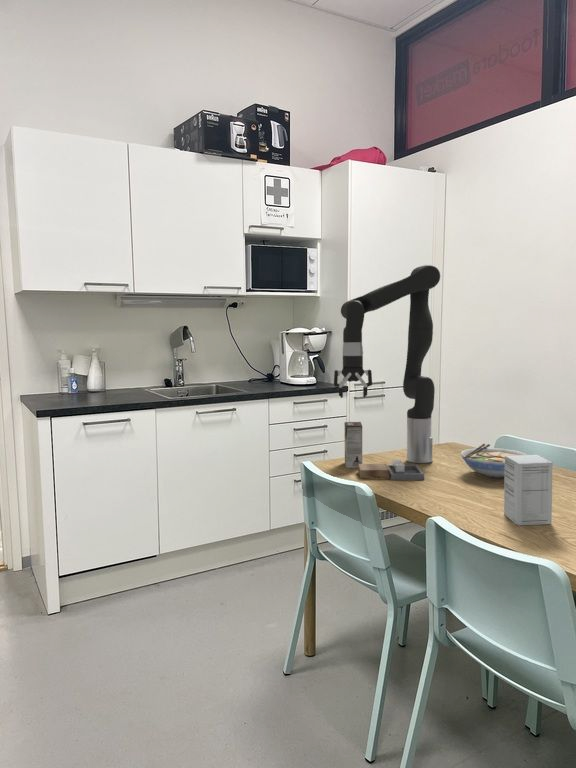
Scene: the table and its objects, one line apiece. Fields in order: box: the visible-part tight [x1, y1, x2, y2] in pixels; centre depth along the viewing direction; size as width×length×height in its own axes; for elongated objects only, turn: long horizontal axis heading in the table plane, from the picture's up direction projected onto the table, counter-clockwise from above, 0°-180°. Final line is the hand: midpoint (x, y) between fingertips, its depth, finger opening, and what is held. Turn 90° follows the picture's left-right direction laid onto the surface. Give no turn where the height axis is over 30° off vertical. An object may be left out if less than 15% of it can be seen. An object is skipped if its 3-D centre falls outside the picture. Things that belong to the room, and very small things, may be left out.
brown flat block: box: [357, 463, 390, 479], centre depth 203 cm, size 10×9×3 cm
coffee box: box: [344, 421, 363, 469], centre depth 217 cm, size 9×6×16 cm
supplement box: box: [503, 454, 554, 526], centre depth 154 cm, size 10×9×17 cm
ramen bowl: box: [460, 443, 528, 479], centre depth 200 cm, size 25×23×8 cm
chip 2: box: [394, 462, 405, 474], centre depth 200 cm, size 4×4×3 cm
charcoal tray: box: [386, 464, 425, 481], centre depth 202 cm, size 11×13×2 cm
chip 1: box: [391, 459, 403, 473], centre depth 204 cm, size 4×4×3 cm
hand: (352, 397), depth 215 cm, fingers open, 8 cm apart
